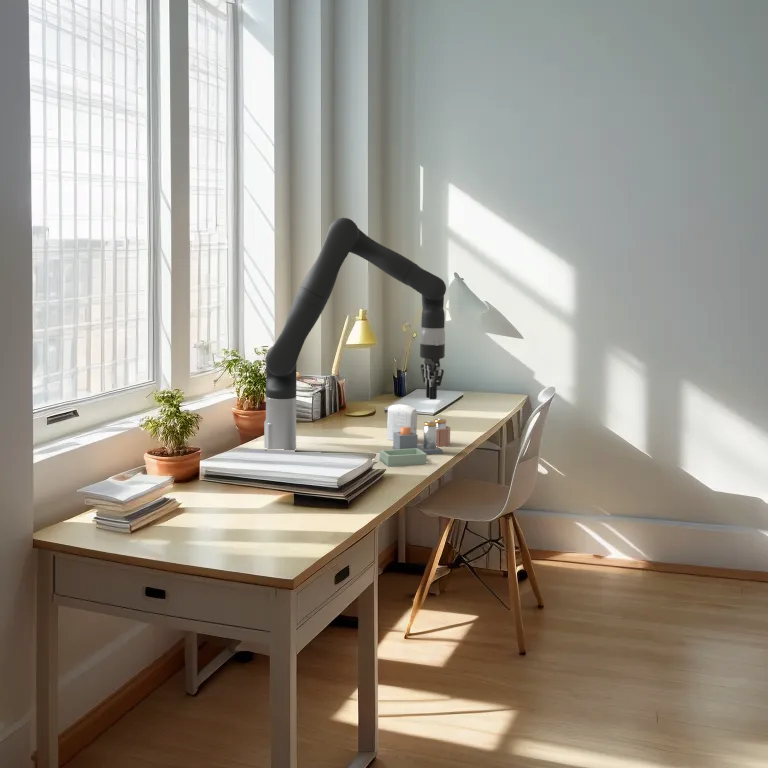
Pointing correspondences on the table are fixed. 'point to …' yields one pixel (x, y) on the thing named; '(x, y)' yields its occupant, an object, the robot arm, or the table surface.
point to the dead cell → (440, 423)
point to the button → (405, 430)
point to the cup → (443, 437)
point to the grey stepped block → (411, 443)
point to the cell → (430, 435)
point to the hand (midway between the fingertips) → (431, 398)
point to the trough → (403, 457)
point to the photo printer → (400, 419)
